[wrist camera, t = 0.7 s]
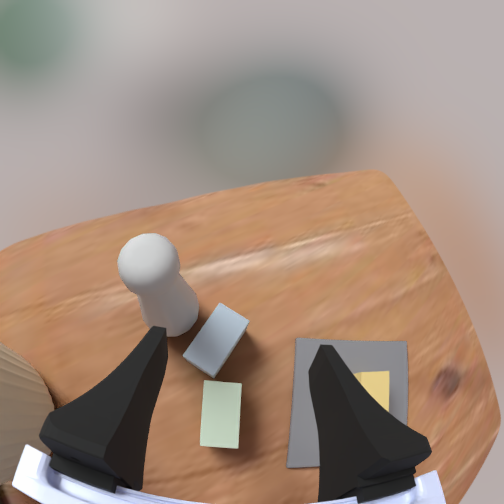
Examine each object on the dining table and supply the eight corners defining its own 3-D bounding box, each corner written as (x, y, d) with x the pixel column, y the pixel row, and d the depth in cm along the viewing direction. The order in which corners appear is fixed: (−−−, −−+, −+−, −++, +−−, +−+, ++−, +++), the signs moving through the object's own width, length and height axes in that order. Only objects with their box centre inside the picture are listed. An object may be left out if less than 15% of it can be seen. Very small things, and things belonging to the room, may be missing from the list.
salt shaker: (199, 288, 30) (190, 216, 19) (202, 340, 27) (191, 296, 16) (146, 290, 29) (109, 221, 18) (146, 341, 27) (99, 298, 15)
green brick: (235, 441, 23) (238, 448, 19) (202, 438, 23) (199, 445, 19) (238, 385, 26) (241, 383, 22) (206, 382, 26) (204, 380, 22)
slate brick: (213, 378, 26) (213, 376, 22) (187, 361, 26) (182, 355, 23) (245, 330, 29) (249, 320, 25) (219, 314, 29) (219, 302, 26)
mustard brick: (367, 427, 24) (387, 429, 20) (341, 430, 24) (358, 433, 20) (369, 375, 27) (389, 370, 23) (344, 376, 26) (361, 372, 23)
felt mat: (401, 452, 22) (404, 452, 22) (286, 466, 22) (287, 467, 21) (404, 342, 29) (406, 341, 29) (295, 338, 29) (296, 337, 28)
